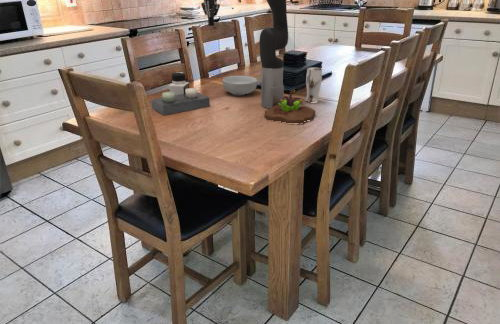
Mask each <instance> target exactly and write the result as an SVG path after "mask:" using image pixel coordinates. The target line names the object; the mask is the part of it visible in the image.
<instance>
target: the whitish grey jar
mask: <svg viewBox="0 0 500 324" xmlns="http://www.w3.org/2000/svg"><path fill="white" fill-rule="evenodd" d="M197 92H198V89H197V88H195V87H189V88H187V89H185V93H186V97H187V98H189V99H190V98H196V97H198V94H197Z"/></svg>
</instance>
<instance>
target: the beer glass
mask: <svg viewBox="0 0 500 324" xmlns="http://www.w3.org/2000/svg"><path fill="white" fill-rule="evenodd" d="M322 76H323V68H321V67H314V66H313V67H308V68H306V75H305V85H306V99H305V102H306V101H309V102H316V101H319V102H320V98H319V96H320V95H319V93H320V89H321V85H322V80H323V77H322Z"/></svg>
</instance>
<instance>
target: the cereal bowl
mask: <svg viewBox="0 0 500 324" xmlns="http://www.w3.org/2000/svg"><path fill="white" fill-rule="evenodd" d="M257 86H258V78H255V77H253V76H247V75H229V76H225V77H223V79H222V87H223V88H224V90H225V91H226V92H228V93H231V94H232V95H233V94H234V96H246V95H245V94H247V95H248V94H250V93H252V92H254V91H255V90H256V88H257Z"/></svg>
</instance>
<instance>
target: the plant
mask: <svg viewBox="0 0 500 324" xmlns="http://www.w3.org/2000/svg"><path fill="white" fill-rule="evenodd" d="M294 93H296V90H295V89H294V88H291V90H290V92H289V95H288V96H289V97H288V96H286V95H285V96H284V97H283V98H282V99H281V103H282V104H280V103H278V104H279V105H275V106H274V107H272V108H266V110H264V116H263V117H264V119H265V118H266V119H268V120H267V121H269V120H273V121H272V122H275V121H281V122H280V123H282V122H286V123H304V121H307V120H311V119H312V118H313V119H314V117H315V116H316V110H315V109H313V108H311V107H309V106H303V105H302V104H300V103H302V102H303V99H302V98H301V97H295V98H293V97H292V94H294ZM295 100H296V101H295ZM314 115H315V116H314ZM313 116H314V117H313ZM266 119H265V120H266ZM313 119H312V120H313ZM286 123H285V124H286ZM304 124H305V123H304Z"/></svg>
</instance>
